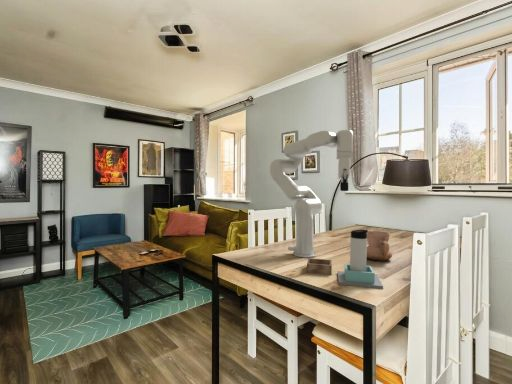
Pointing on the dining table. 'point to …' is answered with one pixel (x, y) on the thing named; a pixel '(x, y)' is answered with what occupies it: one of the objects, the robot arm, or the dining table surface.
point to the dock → (359, 278)
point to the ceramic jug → (378, 245)
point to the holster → (319, 266)
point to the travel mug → (358, 250)
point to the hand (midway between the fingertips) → (344, 190)
